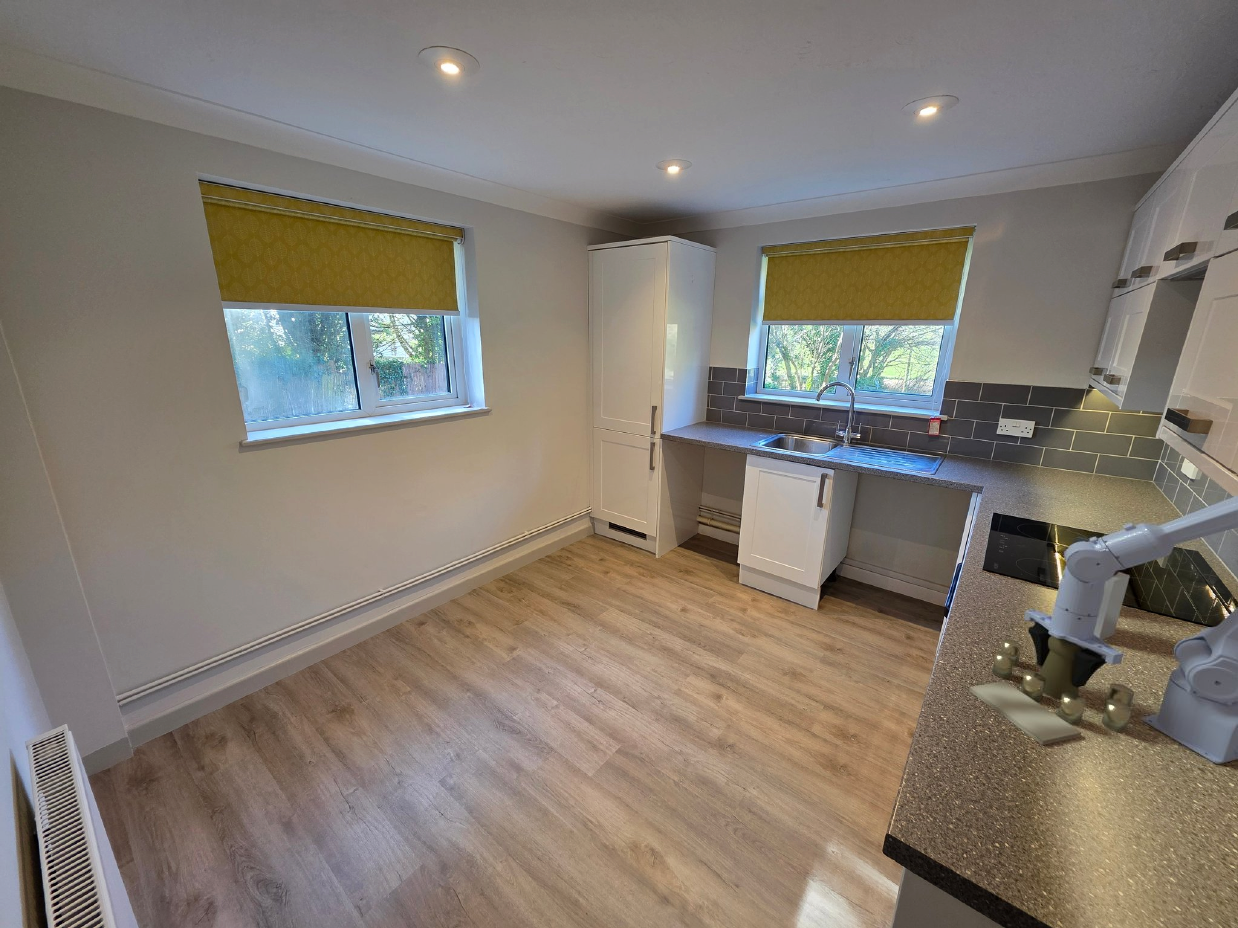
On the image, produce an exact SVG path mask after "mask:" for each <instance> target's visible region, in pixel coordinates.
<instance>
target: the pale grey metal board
mask: <svg viewBox="0 0 1238 928" xmlns="http://www.w3.org/2000/svg"><path fill="white" fill-rule="evenodd" d="M968 690H969V692H970V693H971V694H973V695H974V696H975V697H977V698H978V699H979V700H981V701H982V702H983V703H985V704H986V705H988V706H989V707H990V708H992V709H993V710H994V711H996V712H997V713H999V714H1000V715H1001V716H1002V717H1004V718H1005V719H1006V720H1008V721H1009V722H1011V723H1012V725H1015V726H1016V727H1017V728H1018V729H1020V730H1022V731H1023V732H1024V733H1025V734H1027V735H1028V736H1029V737H1031V738H1032V739H1034V740H1035V741H1036V742H1038V743H1039V744H1041V746H1045V745H1049V744H1052V743H1057V742H1062V741H1067V740H1071V739H1075V738H1080V737H1081V735H1082V731H1080V730H1079V729H1077V728H1075V727H1074V725H1072V724H1069V723H1067V722H1065V721H1064V720H1062V719H1061V718H1059V717H1058V715H1056V714H1055V713H1053V712H1052V711H1051V710H1049V709H1047V708H1046V707H1044V706H1043V705H1041V704H1040V703H1038V701H1034V700H1032V699H1031V698H1029V697H1028V696H1026V695H1025V694H1023V693H1022V692H1020V691H1021V690H1019V689H1017V688H1016V687H1015V686H1013V685H1011V684H1010V683H1009V682H1007V681H1006V680H1001V681H996V682H991V683H990V682H989V683H983V684H979V685H974V686H969V689H968Z"/></svg>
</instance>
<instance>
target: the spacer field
mask: <svg viewBox="0 0 1238 928" xmlns="http://www.w3.org/2000/svg"><path fill="white" fill-rule="evenodd" d="M1022 648H1023V645H1022V643H1020V642H1018V641H1016V640H1013V639H1007V638H1006V639H1005V638H1004V639H1003V641H1002V644H1001V650H1000V651H996V652H995V655H994V659H993V663H992V667H991V673H992V674H993V675H994V676H995V677H997V678H999V679H1003V680H1010V679H1011V678H1012V676H1013V670H1014V667H1015V666H1018V665H1019V662H1020V658H1021V653H1022ZM1035 665H1036V666H1037V667H1038V668H1040V669H1042V667H1043V666H1040V665H1038V664H1037V659H1036V660H1035ZM1045 682H1046V679H1045V677H1043V676H1042V675H1040V674H1039V673H1038V672H1035V671H1031V670H1027V671H1024V674H1023V678H1022V682H1021V687H1020V690H1019V691H1020V692H1022V693H1023V694H1025V695H1026V696H1028V697H1029V698H1031V699H1032V700H1034V701H1035V702H1040V701H1042V698H1043V695H1044V693H1043V691H1044V687H1045ZM1109 685H1110V686H1109V688H1108V692H1107V695H1106V700H1105V703H1104V705H1105V707H1104V710H1103V714H1102V718H1101V721H1100V722H1101V724H1102V725H1103V727H1105V728H1107V729H1108V730H1110V731H1112V732H1114V733H1119V734H1124V733H1127V729H1128V726H1129V723H1130V720H1131V716H1132V713H1133V709H1132V708H1131V707H1132V704H1133V701H1134V697H1135V691H1134V690H1133V689H1131V687H1128V686H1126V685H1123V684H1120V683H1118V682H1117V683H1116V682H1113V683H1110V684H1109ZM1059 701H1060V702H1059V705H1058V709H1057V715H1056V716H1058V717H1059V718H1061V719H1062V720H1064V721H1065V722H1067V723H1068V724H1070V725H1071V726H1079V725H1081V724H1082V720H1083V716H1084V713H1085V708H1086V705H1087V701H1086V700H1085V699H1084V698H1082V697H1081V696H1079V695H1078V696H1077V695H1075V694H1072V693H1063V694H1062V697H1061V700H1059Z"/></svg>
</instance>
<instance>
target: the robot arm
mask: <svg viewBox="0 0 1238 928" xmlns="http://www.w3.org/2000/svg"><path fill="white" fill-rule="evenodd" d="M1122 527H1123V529H1122V530H1121V529H1120V530H1118V531H1116V532H1115V531H1114V532H1113V533H1110V534H1106V535H1103V536H1101V537H1097V536H1092V537H1089V538H1088V539H1089V540H1090V542H1085V541H1082V542H1077V543H1076V542H1074V543H1072V544H1070V545H1069V546H1068V548H1067V549H1066V550H1064V551H1063V557H1064V561H1065V563H1066V565H1065V567H1064V569H1063V571H1062V577H1061V579H1060V582H1059V585H1058V590H1057V594H1056V598H1055V602H1054V607H1053V610H1052V611H1053V612H1052V615H1050V614H1049V615H1048V614H1046V613H1044V612H1041V611H1039V610H1036V609H1026V610H1025V614H1024V618H1023V619H1024V620H1025V621H1027V622H1033V623H1034V625H1032V626H1029V627H1028V629H1027V632H1028V634H1029V635H1030V637H1031V640H1032V642H1033V644H1034V649H1035V654H1036V660H1037V664H1038V665H1040V666H1043V665H1044V663H1045V660H1046V658H1047V656H1048V654H1049V652H1050V649H1049V646H1048V640H1049V638H1050V637H1051V636H1054V637H1056V638H1058V639H1065V640H1068V641H1070V642H1073V643H1075V644H1077V645H1079V646H1080V647H1082V648H1084V649H1085V651H1078V652H1074V656H1075V671H1074V675H1073V679H1072V685H1073V686H1075V687H1079V688H1081V687H1085V686H1086V685H1087V683H1088V681H1089V680H1090V678H1091V677H1092V676H1093V674H1095V673H1096V672H1097V671H1098V670H1099V669H1100V668H1101V667H1103V666H1104V665H1106V664H1109V665H1110V666H1111V665H1112V666H1114V665H1118V664H1121V663H1122V659H1123V657H1124V653H1123V652H1121V651H1119V650H1117V649H1116V648H1114V647H1113V646H1111V645H1110V644H1108V643H1107V642H1105V641H1104V640H1101V639H1100V638H1098V637H1097V636H1095V635H1094V630H1095V626H1096V623H1097V619H1098V615H1099V611H1100V607H1101V603H1102V599H1103V596H1104V586H1105V582H1106V581H1108V580H1109V579H1110V578H1112V576H1113V575H1114V573H1115V571H1116V570H1119V571H1122V570H1126V569H1129V568H1132V567H1135V566H1139V565H1143V564H1145V563H1149V562H1152V561H1155V560H1159V559H1161V558H1165V557H1168V556H1170V555H1171V554H1172V552H1173V549H1174V547H1175V546H1177V545H1178V544H1182V543H1186V542H1190V541H1194V540H1196V539H1200V538H1203V537H1209V536H1212V535H1216V534H1218V533H1222V532H1226V531H1230V530H1234V529H1236V528H1237V529H1238V494H1237V495H1235V496H1233V497H1230V498H1227V499H1225V500H1221V501H1219V502H1217V503H1214V504H1212V505H1209V506H1207V507H1205V508H1201V509H1199V510H1197V511H1193V512H1191V513H1188V514H1185V515H1183V516H1181V517H1179V518H1176V519H1173V520H1171V521H1167V522H1165V523H1163V524H1160V525H1159V524H1151V523H1146V522H1141V523H1138V524H1134V523H1133V522H1129V523H1126V524H1123V525H1122ZM1173 654H1174V657H1175V659H1176V661H1177V662H1178V663H1179V665H1178V667H1176V668H1175V669H1173V670H1172V671H1171V672H1170V675H1169V678H1168V680H1167V683H1166V684H1167V685H1166V688H1165V690H1164V694H1163V697H1162V700H1161V704H1160V706H1159V711H1158V712H1157V713H1156V714H1151V715H1147V716H1142V717H1141V720H1142V721H1143V722H1145V723H1146V724H1148V725H1149V726H1151V727H1153V728H1154V729H1156V730H1158V731H1159V732H1162V733H1163V734H1164V735H1167V736H1168V737H1169V738H1171V739H1173V740H1175V741H1177V742H1178V743H1180V744H1182V745H1183V746H1185V747H1187V748H1188V749H1190V750H1192V751H1194V752H1195V753H1197V754H1199V755H1201V756H1202V757H1203V758H1206V759H1207V760H1209V761H1210V762H1213V763H1214V764H1224V763H1227V762H1231V761H1232V762H1233V761H1235V760H1238V606H1237V607H1236V608H1235V609H1234V610H1233V611H1232V612H1231V613H1230V614H1229V615H1228V616H1226V618H1224V619H1223V620H1222V621H1221V623H1219V624H1218V625H1216V626H1212V627H1207V628H1203V629H1202V630H1201V631H1200V632H1199V633H1197V634H1196V635H1193V636H1191V637H1190V636H1189V637H1186V638H1184V639H1181V640H1180V641H1178V642H1177V643H1176V644H1175V645H1174V648H1173Z"/></svg>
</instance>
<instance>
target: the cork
mask: <svg viewBox="0 0 1238 928" xmlns="http://www.w3.org/2000/svg"><path fill="white" fill-rule="evenodd" d="M1048 646H1049V649H1050V652H1049V654H1048V656H1047V658H1046V660H1045V663H1044V665H1043V667H1042V668H1040V671H1039V673H1038V674H1040V675H1042V676H1043V677H1045V679H1046V682H1045V687H1044V691H1043V695H1044V694H1045V695H1046V696H1048V697H1050V698H1052V699H1054V700H1057V701H1061V697H1062V694H1063V693H1072V694H1075V695H1077V696H1079V688H1080V687H1075V686H1073V685H1072V679H1073V675H1074V671H1075V656H1074V652H1078V651H1085V649H1084V648H1082V647H1080V646H1079V645H1077V644H1075V643H1073V642H1070V641H1068V640H1065V639H1058V638H1056V637H1054V636H1051V637H1050V638H1049V640H1048Z"/></svg>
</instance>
